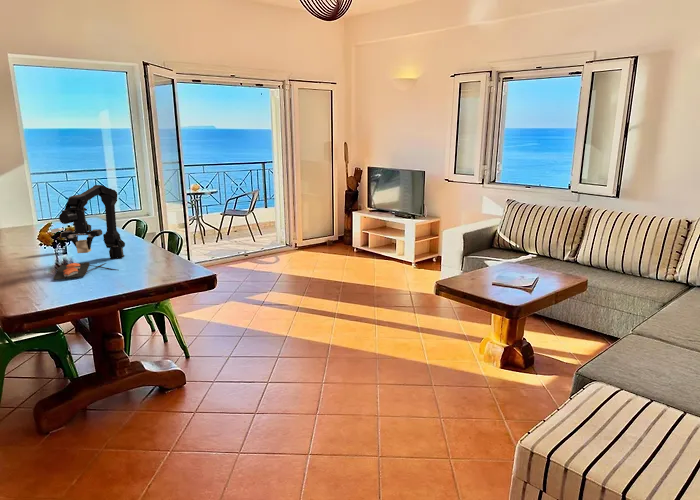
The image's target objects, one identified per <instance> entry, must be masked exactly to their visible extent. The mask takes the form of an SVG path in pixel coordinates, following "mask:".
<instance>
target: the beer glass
mask: <svg viewBox="0 0 700 500" xmlns="http://www.w3.org/2000/svg"><path fill="white" fill-rule="evenodd" d="M62 230H64V231H65V228H63V227H60V228H59V227H58V228H52V229H51V234H52V233H56V232H58V231H62Z"/></svg>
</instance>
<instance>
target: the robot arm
mask: <svg viewBox="0 0 700 500" xmlns="http://www.w3.org/2000/svg"><path fill="white" fill-rule="evenodd" d="M96 196H98V197H100V200H101V203H103V205H104V211H105V221H106V224H105V225H106V232H105V233H103V230H102V229H100V228H99V229H92V225H91V224H90V223H88V221H87V220H86V213H85V212H86V211H88V208H86V207H85V206H86V205H87V204H88V202H89V201H90V200H92V199H93V198H95V197H96ZM117 202H118V192H117V191H116V190H115V189H112V188H109V187H107V186H104V185H103V184H95V185H93V186H92V187H90V188H88V189H87V190H86V191H85V190H84V191H83V192H82V193H80V194H74V195H71V196H69V197H68V199H67V202H66V205H65V208H64V210H61V213H60V214H59V217H58V220H59V221H60V223H61V224H62V225H67V224H71V223H72V226H73V228H74V231H73V230H64V232H62V233H61V238H66V239H67V240H69V241H71V243H72V244H73V245H74V246H75V248H76V249H77V247H76V242H77V241H79V236H87V237H86V240H87V244H88V249H90V248H91V249H92V244H93V240H94V238H96V237H100V236H102V235H103V236H102V237H103V242H104V245H105V246H106V248H107V249H109V250H108V252H109V254H108V255H109V260H117V259H123V258H124V257H125V256H126V255H125V254H124V247H125V246H126V242H125V241H123V240H122V238H121V234H120V233H119V231H118V230H117V219H116V218H117V217H116V208H115V205H116V204H117Z"/></svg>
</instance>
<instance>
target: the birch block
mask: <svg viewBox="0 0 700 500" xmlns="http://www.w3.org/2000/svg"><path fill="white" fill-rule="evenodd" d="M76 247H77V248H76ZM75 248H76V252H77V254H86V253H87V254H88V253H90V252H92V247H91V248H90V249H88V244H87V239H78V241H77V242H76V246H75Z"/></svg>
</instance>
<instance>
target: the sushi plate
mask: <svg viewBox="0 0 700 500" xmlns="http://www.w3.org/2000/svg"><path fill="white" fill-rule="evenodd" d="M105 264H107V262H104V263H102V264H100V265H93V264H90V262H72V263H67V264H62V265H60V266H59V267H58V268H57V271H56V272H55V274H54V276H53V277H52V279H53V280H54V281H58V280H69V279H70V280H72V279H76V278H82V277H85V276H86V274H87V273H88V272H91V271H93V270H95V269H97V268H100V269H105V270H111V271H118V269H115V268H111V267H103V266H104V265H105ZM90 266H91V267H94V268H92V269H89V268H90Z"/></svg>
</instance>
